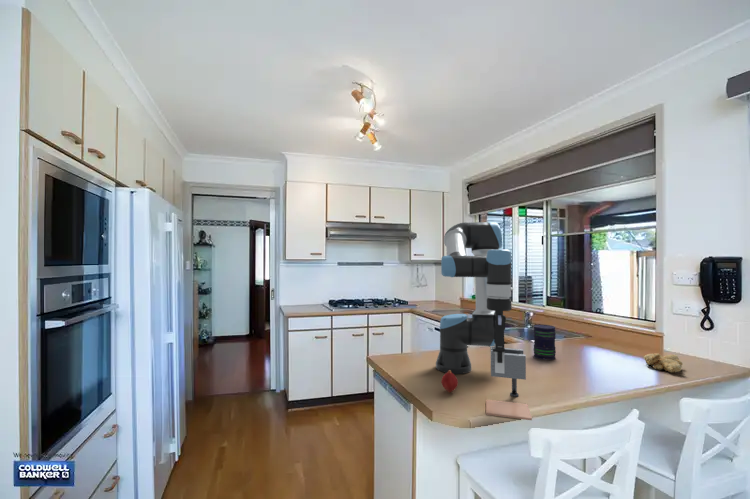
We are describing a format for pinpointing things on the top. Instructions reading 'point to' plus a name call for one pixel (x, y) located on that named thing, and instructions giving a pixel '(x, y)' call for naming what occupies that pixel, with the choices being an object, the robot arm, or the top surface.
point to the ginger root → (664, 362)
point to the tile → (508, 409)
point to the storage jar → (544, 342)
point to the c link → (510, 364)
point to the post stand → (514, 388)
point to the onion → (449, 381)
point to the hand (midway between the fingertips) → (499, 368)
